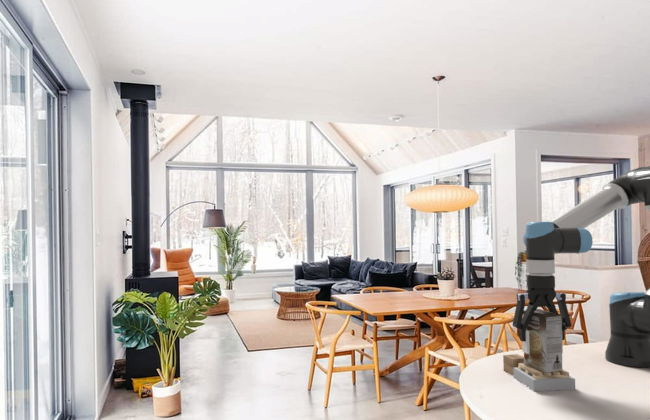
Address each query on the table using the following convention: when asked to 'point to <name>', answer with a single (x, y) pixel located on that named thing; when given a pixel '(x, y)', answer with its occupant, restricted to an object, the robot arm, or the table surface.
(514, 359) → the light brown cube
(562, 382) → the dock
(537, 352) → the coffee box
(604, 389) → the table surface
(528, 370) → the pallet
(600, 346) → the table surface
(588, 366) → the table surface
